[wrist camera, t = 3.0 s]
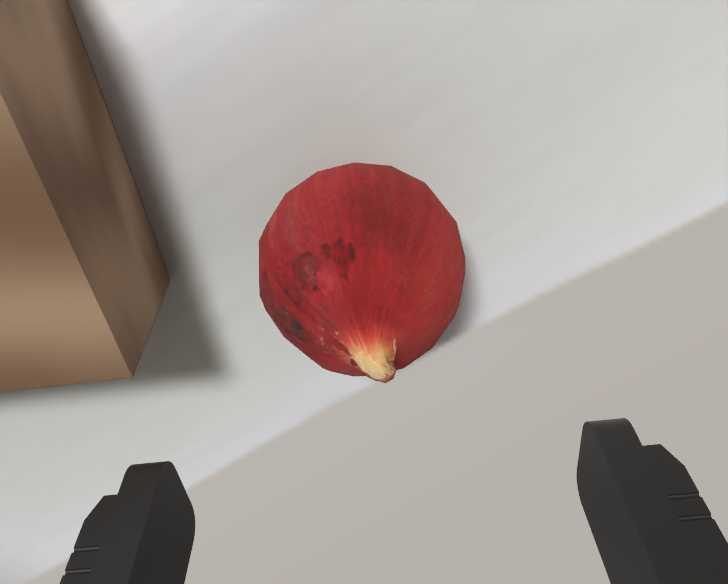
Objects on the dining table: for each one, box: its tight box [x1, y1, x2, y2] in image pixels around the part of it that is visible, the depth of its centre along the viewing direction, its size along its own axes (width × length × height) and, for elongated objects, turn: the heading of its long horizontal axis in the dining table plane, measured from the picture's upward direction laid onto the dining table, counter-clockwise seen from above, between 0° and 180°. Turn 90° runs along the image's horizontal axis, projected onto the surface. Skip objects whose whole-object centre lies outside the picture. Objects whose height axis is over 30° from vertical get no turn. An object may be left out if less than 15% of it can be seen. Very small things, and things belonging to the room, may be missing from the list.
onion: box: [259, 163, 465, 383], centre depth 17 cm, size 6×6×8 cm
